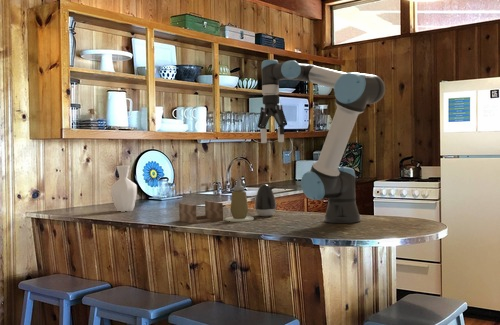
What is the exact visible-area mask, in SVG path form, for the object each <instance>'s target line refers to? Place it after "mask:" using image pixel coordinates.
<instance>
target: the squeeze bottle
mask: <svg viewBox="0 0 500 325" xmlns="http://www.w3.org/2000/svg"><path fill="white" fill-rule="evenodd" d="M230 199H231V200H230V213H231V217H233V218H235V219H243V218H246V216H248V211H249V205H248V196H247V191H246V190H245V187H244V186H243V185H242V183H241V178H237V179H236V183H235V186H233V191H232V192H231V198H230Z"/></svg>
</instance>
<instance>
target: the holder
mask: <svg viewBox="0 0 500 325" xmlns="http://www.w3.org/2000/svg"><path fill="white" fill-rule="evenodd" d="M223 205H224V204H223V202H218V201H210V200H204V212H205V214H204V215H197V205H195V204H189V203H184V202H182V203H181V202H180V203H178V211H179V214H178V215H179V221H181V222H184V223H189V224H193V225H194V224H202V223H203V224H204V223H213V222H220V221H221V222H222V221H224V209H223V208H224V207H223Z"/></svg>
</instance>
